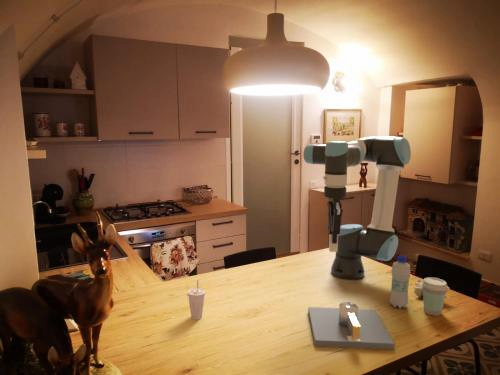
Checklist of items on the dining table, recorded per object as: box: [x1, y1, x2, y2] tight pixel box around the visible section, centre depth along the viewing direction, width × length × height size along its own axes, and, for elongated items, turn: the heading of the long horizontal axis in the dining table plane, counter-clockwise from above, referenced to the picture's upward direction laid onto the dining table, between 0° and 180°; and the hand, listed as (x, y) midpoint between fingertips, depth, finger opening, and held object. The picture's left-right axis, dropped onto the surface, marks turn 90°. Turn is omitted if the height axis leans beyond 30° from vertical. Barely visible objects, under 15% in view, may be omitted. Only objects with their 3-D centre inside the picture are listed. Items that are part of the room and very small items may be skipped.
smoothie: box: [186, 279, 206, 321], centre depth 131 cm, size 6×6×14 cm
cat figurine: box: [413, 279, 451, 300], centre depth 149 cm, size 8×7×12 cm
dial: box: [338, 301, 360, 339], centre depth 120 cm, size 15×6×6 cm, turn 177°
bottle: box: [389, 254, 412, 309], centre depth 141 cm, size 7×7×20 cm
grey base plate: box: [307, 306, 396, 351], centre depth 125 cm, size 22×24×2 cm
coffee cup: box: [422, 276, 449, 317], centre depth 137 cm, size 8×8×12 cm
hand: (333, 250), depth 133 cm, fingers closed
